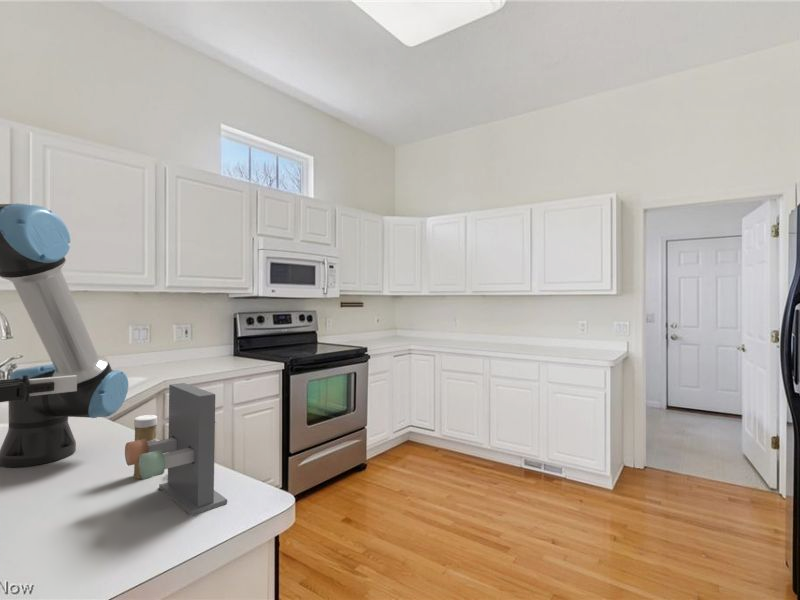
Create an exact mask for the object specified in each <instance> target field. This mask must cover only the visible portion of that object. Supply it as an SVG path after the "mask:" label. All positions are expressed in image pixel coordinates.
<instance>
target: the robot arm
mask: <svg viewBox="0 0 800 600" xmlns="http://www.w3.org/2000/svg"><path fill="white" fill-rule="evenodd" d="M70 243H71V235H70V232H69V229H68V227H67V225H66V223H65V222H64V221H63V220H62V219H61V217H60V216H59V215H57V214H56V213H55V212H53V211H52V210H50V209H48V208H46V207H44V206H41V205H35V204H33V205H32V204H27V203H26V204H25V203H1V204H0V278H1V279H5V280H7V281H11V282H12V284H13V286H14V288H15V291H16V292H17V294H18V296H19V298H20V300H21V302H22V304H23V306H24V309H25V310H26V312H27V314H28V316H29V318H30V321H31V323H32V324H33V327H34V328H35V331H36V333H37V334H38V336H39V338H40V340H41V343H42V345H43V346H44V349H45V350H46V352H47V355H48V356H49V358H50V361H51V362H52V364H45V365H44V364H43V365H36V366H30V367H24V368H19V369H15V370H14V371H12V373H11V374H10V376H9V379H0V403H4V402H8V427H7V428H8V429H7V433H6V435H5V438H4V440H3V442H2V444H1V447H0V467H8V468H21V467H31V466H37V465H38V466H39V465H44V464H47V463H52V462H55V461H58V460H62V459H65V458H68V457H69V456H71V455H73V454H74V453H75V452H76V450H77V449H76V448H77V442H76V438H75V436H74V434H73V431H72V429H71V426H70V424H69V417H70V418H71V417H73V418H91V419H95V418H96V419H97V418H108V417H111V416H112V415H115V413H117V412H118V411H119V410H120V408H121V407H122V406H123V404H124V403H125V400H126V398H127V394H128V392H129V379H128V376H127V374H126V373H125V372H124V371H122V370H120V369H114V370H113V369H112V366H111V364H110V362H109V360H108V358H106V356H103V355H100V354H98V353H97V350H96V348H95V346H94V343H93V341H92V338H91V336H90V334H89V332H88V329H87V327H86V325H85V323H84V320H83V318H82V316H81V313H80V311H79V309H78V306H77V304H76V301H75V299H74V298H73V295H72V293H71V290H70V288H69V286H68V283H67V281H66V278H65V276H64V273H63V271H62V268H63V267H64V265H65V264H66V262H67V259H66V255H67V254H68V253H69V252H70V247H71V246H70V245H69V244H70Z"/></svg>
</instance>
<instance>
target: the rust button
mask: <svg viewBox="0 0 800 600" xmlns="http://www.w3.org/2000/svg"><path fill="white" fill-rule="evenodd" d="M158 450H161V451H162V452H163V454H165V453H168V452H172V451H177V438H175V437H173V438H169V439H168V438H165V439H164V438H163V439H159V440H156V441H154V442H149V443H147V441H146V440H145V439H143V440H138V441H135V440H133V441H129V442H126V443H125V447H124V457H125V462H126V465H127V466H133V465H134V464H138V463H139V458H140V455H141V454H144V453H149V452H153V451H158Z"/></svg>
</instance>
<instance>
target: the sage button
mask: <svg viewBox="0 0 800 600" xmlns="http://www.w3.org/2000/svg"><path fill="white" fill-rule="evenodd" d="M194 453H195V449H194V448H192V447H191V448H187V449H182V450H178V451H173V452H169V453H164V454H163V452H162V451H161V450H158V451H153V452H149V453H144V454H141V455H140V458H139V471H140V475H141V477H142V478H141V479H142V480H146V479H150V478H154V477H157V476H160V475H163V474H164V473H165V470H168V468H172V467H176V466H179V465H183V464H187V463H191V462H194Z"/></svg>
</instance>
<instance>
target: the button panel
mask: <svg viewBox="0 0 800 600" xmlns="http://www.w3.org/2000/svg"><path fill="white" fill-rule="evenodd" d="M168 387H169V389H168V393H169V394H168V437H167V439H169V438H173V437H175V438H177V451H178V450H182V449H187V448H191V447H192V448H194V449H195V453H194V462H191V463H187V464H183V465H179V466H176V467H172V468H168V469H167V482H163V483H159V485H158V488H159V489H160V490H161V491H162V492H163V493H164V494H165V495H166V494H167V495H166V496H168V498H170V499H171V500H172V501H173V502H174V501H175V502H176V503H175V502H174V503H175V504H177V505H178V506H179V507H180V508H181V510H184V512H185V513H187V514H188V515H189V516H194V514H195V515H197V513H198V514H201V513H203V512H206V511H209V510H213V509H214V508H217V507H221V506H224V505H227V504H228V498H226V497H225V496H224V495H222V494H221V493H219V492H218V491H216V490H215V450H216V449H215V443H216V442H215V441H216V436H215V435H216V432H215V431H216V430H215V429H216V424H215V423H216V394H215V393H213V392H210V391H208V390H205V389H202V388H199V387H196V386H194V385H192V384H191V385H190V384H188V383H185V382H181V383H173V384H172V383H171V384H169V386H168ZM172 452H173V451H172ZM168 453H169V452H168ZM200 512H201V513H200Z"/></svg>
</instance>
